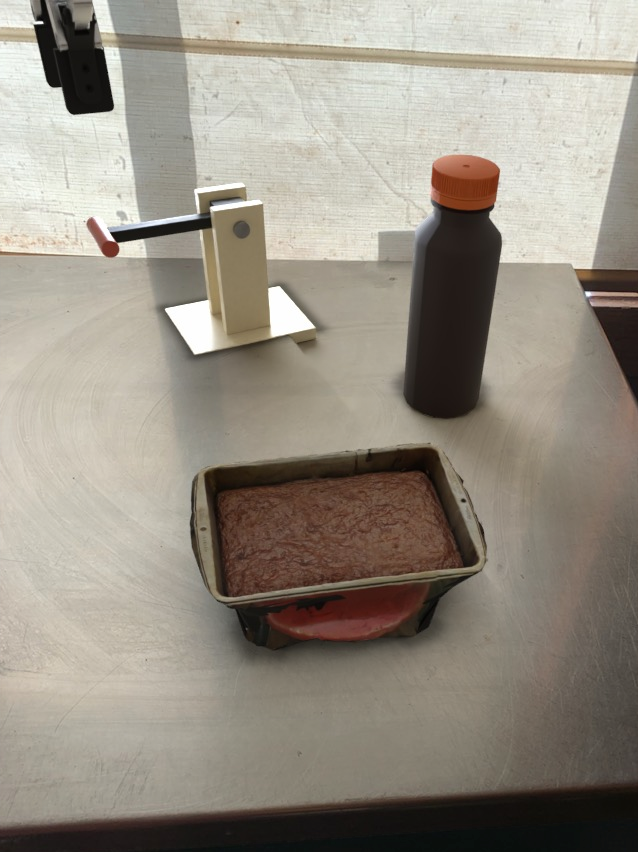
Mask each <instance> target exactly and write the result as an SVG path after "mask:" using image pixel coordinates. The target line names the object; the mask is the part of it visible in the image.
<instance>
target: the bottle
mask: <svg viewBox="0 0 638 852" xmlns="http://www.w3.org/2000/svg"><path fill="white" fill-rule="evenodd" d="M500 176H501V169H500V167H499V166H498V165H497V164H496V163H495V162H493V161H492V160H490V159H487V158H484V157H481V156H476V155H472V154H449V155H443V156H441V157H438V158H437V159H435V160H434V161H433V162H432V166H431V176H430V177H431V178H430V192H429V196H430V199H429V200H430V202H429V203H430V204H431V206H432V207H433V208H432V209H433V211H432V212H431V213H429V215H428V216H427V217H425V218H424V219H423V220H422V221H421V222H419V224H418V225H417V226H416V228H415V230H414V239H413V254H412V264H411V265H412V266H411V270H412V271H411V282H410V295H409V310H408V322H407V337H406V338H407V339H406V350H405V363H404V364H405V365H404V366H405V367H404V379H403V390H402V392H403V393H402V394H403V397H404V400H405V402H406V404H408V406H410V407H411V408H412V410H414V411H416V412H418V413H420V414H421V415H424V416H428V417H431V418H437V419H452V418H453V419H454V418H458V417H461V416H464V415H467V414H468V413H470V412H471V411H472V410H474V409H475V407H476V405H477V404H478V402H479V398H480V392H481V386H482V379H483V374H484V373H483V372H484V364H485V360H486V353H487V347H488V340H489V334H490V328H491V327H490V326H491V320H492V314H493V306H494V301H495V295H496V289H497V281H498V274H499V268H500V261H501V254H502V248H503V236H502V233H501V231H500V230H499V229H498V228H497V226H496V225H495V224H494V222H493V221H492V219H491V218H490V215H491V212H492V211H493V210H494V209H495V205H496V204H495V203H496V202H497V196H498V189H499V183H500V182H499V181H500Z"/></svg>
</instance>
